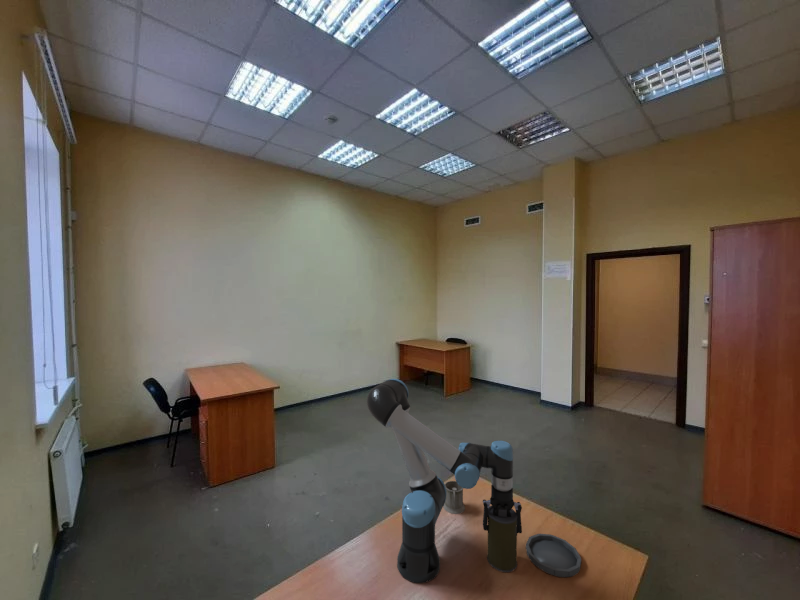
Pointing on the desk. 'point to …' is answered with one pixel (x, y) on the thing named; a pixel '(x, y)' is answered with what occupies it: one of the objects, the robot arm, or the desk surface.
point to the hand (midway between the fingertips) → (501, 549)
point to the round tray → (553, 555)
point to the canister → (502, 540)
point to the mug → (454, 498)
